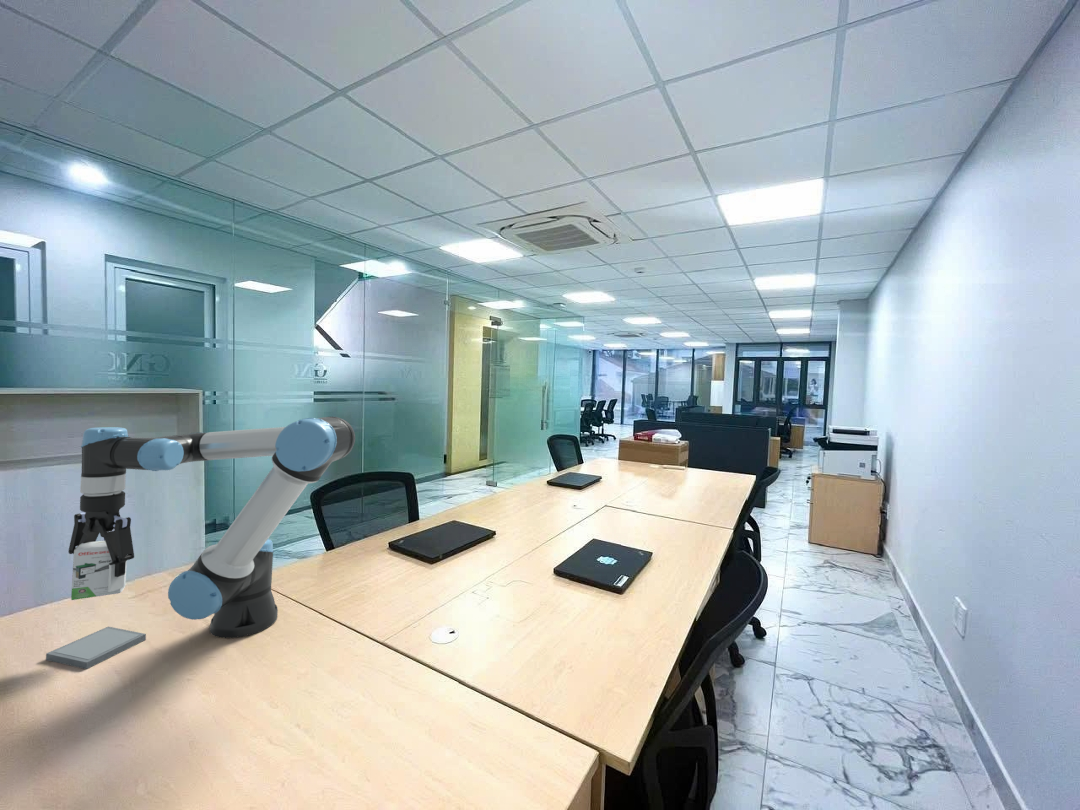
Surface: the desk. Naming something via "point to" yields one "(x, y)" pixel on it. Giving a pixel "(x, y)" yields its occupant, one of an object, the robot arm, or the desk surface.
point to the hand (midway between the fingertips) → (100, 586)
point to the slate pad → (95, 647)
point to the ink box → (92, 571)
